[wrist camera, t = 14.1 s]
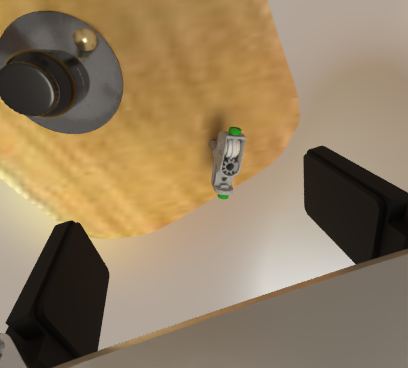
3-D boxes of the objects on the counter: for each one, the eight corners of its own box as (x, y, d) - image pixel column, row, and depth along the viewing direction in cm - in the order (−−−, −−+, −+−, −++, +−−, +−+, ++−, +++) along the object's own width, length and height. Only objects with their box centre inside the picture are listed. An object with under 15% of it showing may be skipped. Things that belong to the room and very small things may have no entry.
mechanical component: (201, 170, 45) (214, 199, 36) (209, 112, 40) (226, 129, 32) (217, 171, 45) (234, 200, 37) (227, 113, 41) (248, 131, 32)
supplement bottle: (102, 83, 35) (83, 98, 24) (66, 114, 36) (34, 142, 25) (59, 36, 31) (16, 31, 21) (21, 72, 32) (-38, 84, 22)
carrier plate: (-30, 28, 30) (-51, 26, 27) (95, -2, 31) (89, -8, 28) (39, 144, 37) (30, 153, 34) (138, 117, 38) (137, 123, 35)
